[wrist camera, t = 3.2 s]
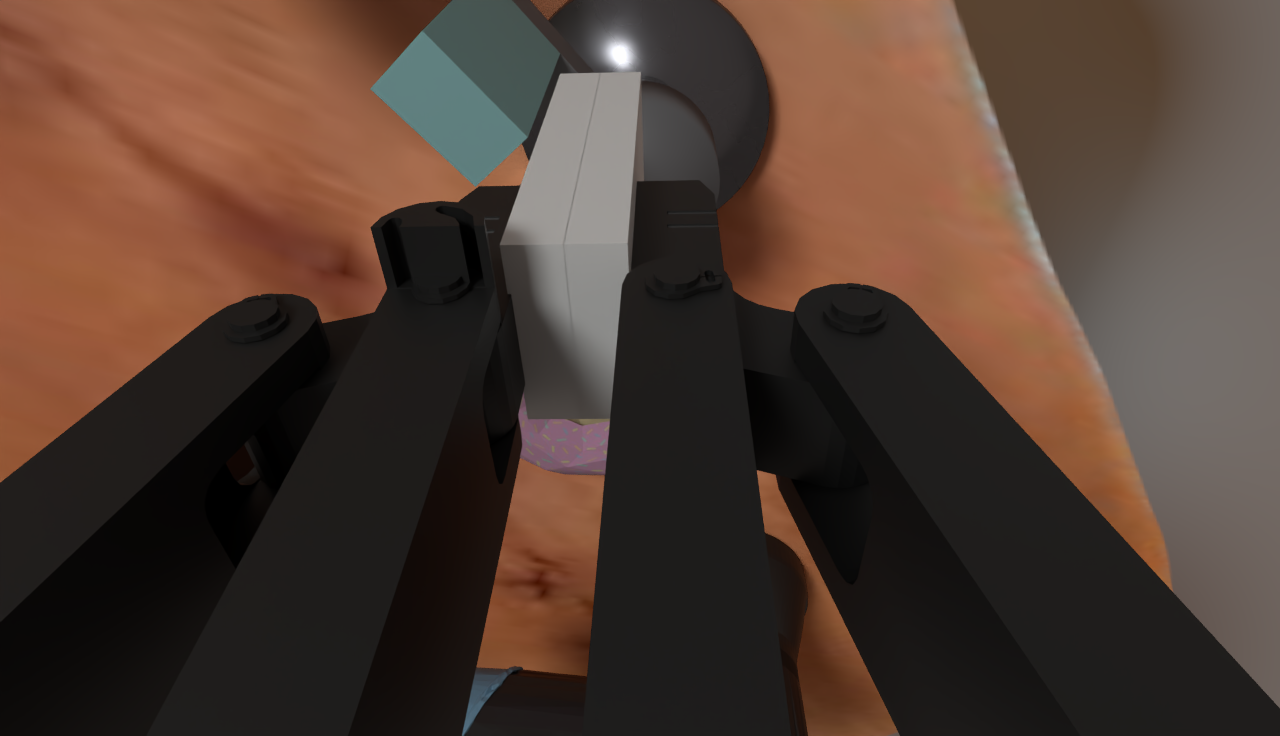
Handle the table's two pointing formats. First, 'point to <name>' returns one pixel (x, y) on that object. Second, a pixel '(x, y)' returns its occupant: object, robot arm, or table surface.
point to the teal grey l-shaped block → (521, 93)
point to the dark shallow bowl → (679, 67)
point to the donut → (565, 443)
